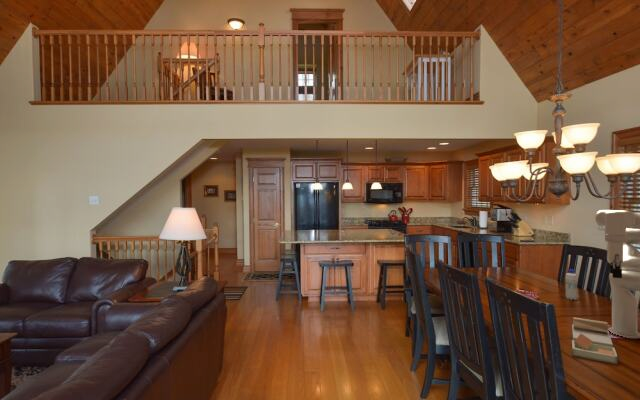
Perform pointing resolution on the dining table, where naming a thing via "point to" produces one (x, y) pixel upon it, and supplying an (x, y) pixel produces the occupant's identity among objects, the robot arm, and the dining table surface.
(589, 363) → the dining table surface
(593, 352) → the box
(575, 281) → the bottle
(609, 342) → the bench board
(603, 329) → the tan long block
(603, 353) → the tile
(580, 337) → the tile
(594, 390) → the dining table surface
